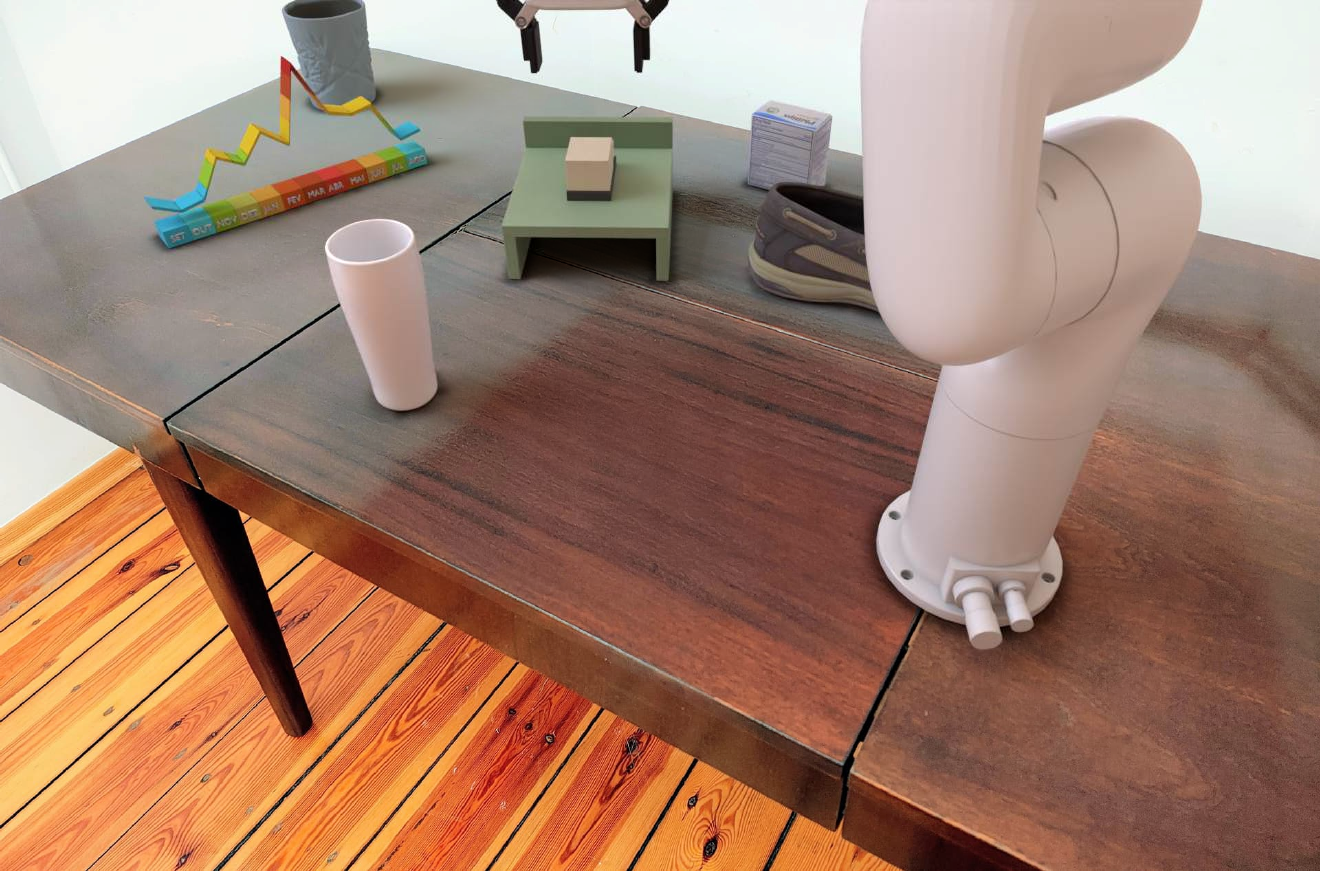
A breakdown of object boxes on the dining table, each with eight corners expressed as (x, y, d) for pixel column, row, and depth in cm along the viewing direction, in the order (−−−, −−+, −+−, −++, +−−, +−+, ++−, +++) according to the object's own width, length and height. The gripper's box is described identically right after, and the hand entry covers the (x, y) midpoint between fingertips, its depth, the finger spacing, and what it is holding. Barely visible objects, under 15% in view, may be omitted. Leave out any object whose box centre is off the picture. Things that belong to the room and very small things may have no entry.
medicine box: (825, 187, 107) (834, 113, 101) (808, 203, 104) (816, 129, 98) (764, 170, 110) (769, 98, 104) (746, 185, 107) (750, 112, 101)
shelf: (668, 281, 93) (668, 199, 87) (508, 279, 93) (497, 197, 87) (672, 193, 106) (672, 117, 100) (532, 192, 106) (524, 116, 100)
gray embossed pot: (293, 111, 123) (267, 16, 115) (326, 81, 131) (303, -10, 123) (366, 116, 122) (344, 21, 114) (394, 85, 129) (376, -6, 121)
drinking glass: (409, 430, 77) (369, 274, 66) (350, 402, 79) (303, 248, 69) (463, 385, 81) (434, 232, 71) (405, 360, 83) (369, 209, 73)
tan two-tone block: (611, 201, 92) (609, 161, 90) (567, 201, 93) (563, 161, 90) (616, 164, 98) (614, 126, 96) (575, 164, 98) (572, 125, 96)
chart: (169, 249, 98) (112, 110, 88) (160, 237, 100) (102, 99, 89) (428, 164, 112) (404, 36, 102) (415, 155, 114) (391, 28, 103)
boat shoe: (1057, 345, 84) (1093, 241, 77) (737, 310, 89) (742, 208, 82) (1045, 280, 92) (1077, 180, 85) (751, 251, 97) (758, 153, 90)
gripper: (459, -133, 73) (489, 83, 85) (678, -136, 73) (679, 82, 84) (476, -152, 79) (502, 54, 90) (680, -154, 78) (680, 53, 90)
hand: (587, 68), depth 87 cm, fingers open, 9 cm apart
